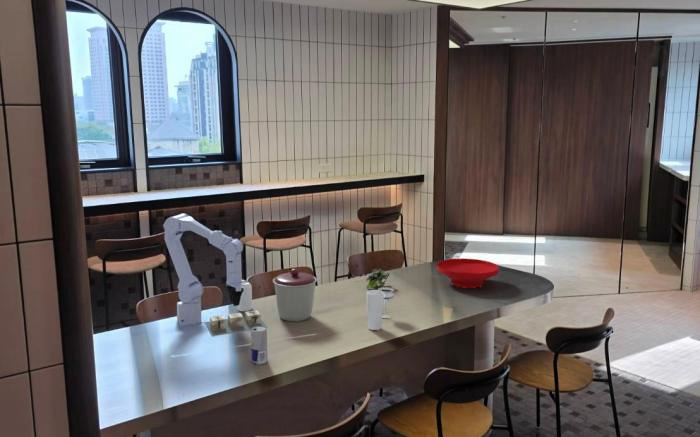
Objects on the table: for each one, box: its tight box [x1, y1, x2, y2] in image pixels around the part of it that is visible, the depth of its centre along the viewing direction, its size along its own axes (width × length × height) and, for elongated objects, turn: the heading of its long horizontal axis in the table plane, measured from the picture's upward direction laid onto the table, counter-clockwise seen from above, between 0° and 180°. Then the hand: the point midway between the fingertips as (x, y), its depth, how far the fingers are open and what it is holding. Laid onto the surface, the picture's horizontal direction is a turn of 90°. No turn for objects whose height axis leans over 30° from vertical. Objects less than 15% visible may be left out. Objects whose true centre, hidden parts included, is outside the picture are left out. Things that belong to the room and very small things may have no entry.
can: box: [236, 280, 253, 312], centre depth 243 cm, size 6×6×12 cm
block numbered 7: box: [244, 310, 262, 326], centre depth 227 cm, size 5×5×4 cm
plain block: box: [227, 312, 244, 328], centre depth 224 cm, size 5×5×4 cm
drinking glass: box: [365, 289, 385, 331], centre depth 222 cm, size 7×7×15 cm
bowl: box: [436, 258, 500, 289], centre depth 283 cm, size 30×30×10 cm
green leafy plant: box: [365, 268, 390, 290], centre depth 276 cm, size 11×11×12 cm
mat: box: [203, 316, 269, 337], centre depth 225 cm, size 22×16×1 cm
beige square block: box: [209, 314, 226, 331], centre depth 221 cm, size 5×5×4 cm
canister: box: [272, 268, 318, 323], centre depth 233 cm, size 18×18×21 cm
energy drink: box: [250, 326, 268, 366], centre depth 191 cm, size 5×5×12 cm
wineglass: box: [377, 286, 395, 319], centre depth 235 cm, size 7×7×12 cm
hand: (235, 303), depth 223 cm, fingers open, 4 cm apart
